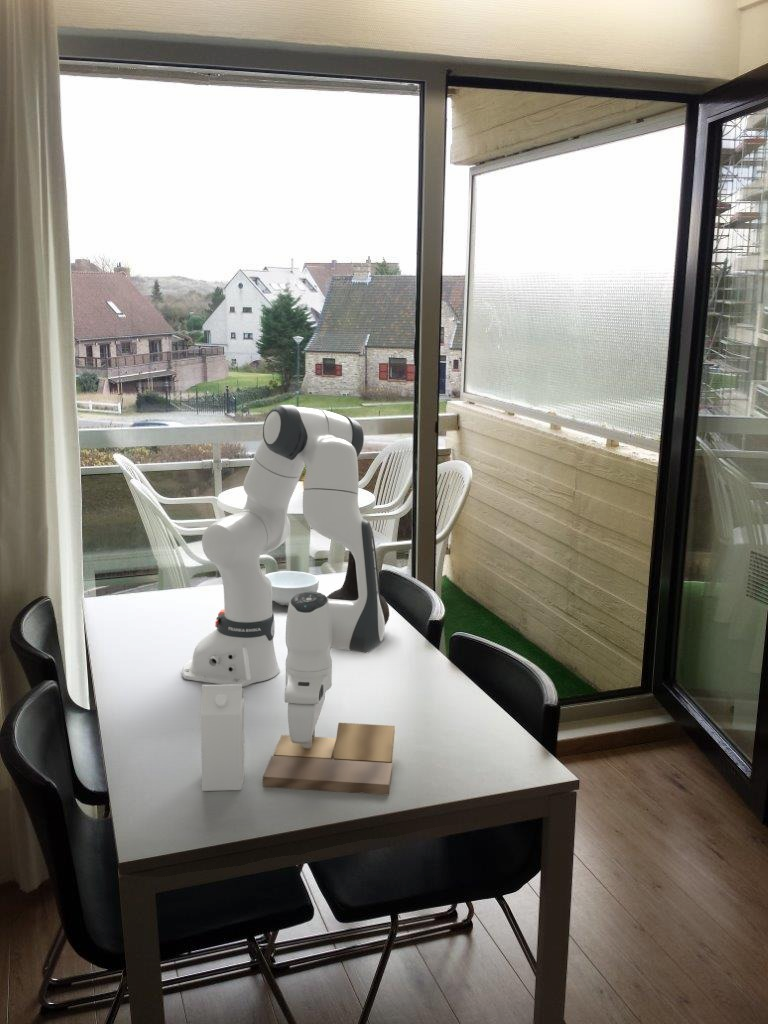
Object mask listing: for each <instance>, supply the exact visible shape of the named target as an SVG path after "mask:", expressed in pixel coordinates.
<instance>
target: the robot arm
mask: <svg viewBox="0 0 768 1024" xmlns="http://www.w3.org/2000/svg"><path fill="white" fill-rule="evenodd" d="M364 439H365V434H364V431H363V427H362V425H361V424H360V422H358V421H357V420H356V419H354V418H352V417H350V416H349V415H348V416H347V415H344V414H343V415H341V414H338V413H335V412H332V411H328V410H326V409H321V408H317V409H316V408H312V407H301V406H295V405H294V404H280V405H276V406H274V407H273V408H272V409H271V410H269V412H268V413H267V415H266V416H265V420H264V422H263V428H262V440H261V441H260V442H259V443H260V444H258V447H257V449H256V452H255V454H254V456H253V459H252V462H251V464H250V466H249V468H248V471H247V473H246V475H245V478H244V481H243V491H244V492H245V494H246V495H247V497H246V498H247V499H246V503H245V505H244V507H243V508H242V509H241V510H240V511H238V512H237V513H233V514H230V515H227V516H223V517H222V518H219V519H217V520H216V521H215V522H213V523H212V524H211V525H209V526H208V527H207V528H206V529H205V530H204V532H203V534H202V537H201V547H202V551H203V553H204V555H205V557H206V559H208V561H210V562H211V563H212V564H214V565H215V566H216V568H217V569H218V572H219V574H220V577H221V581H222V585H223V603H224V604H223V606H224V608H223V609H221V610H220V611H219V612H218V614H217V617H216V619H215V624H214V625H215V627H214V628H216V629H215V630H213V631H212V632H211V633H209V634H208V635H206V636H205V637H203V638H202V639H201V640H200V641H199V642H198V643H197V644H196V645H195V648H194V650H193V654H192V658H190V659H189V660H187V662H186V663H185V664H184V666H183V669H182V677H183V678H184V679H185V680H187V681H195V682H202V683H208V684H214V685H239V684H242V688H243V687H246V686H250V685H251V684H254V683H258V682H263V681H267V680H270V679H273V678H274V677H275V676H277V675H278V674H279V672H280V667H279V664H278V660H277V655H276V651H275V644H274V637H275V633H276V632H275V627H276V626H275V625H276V624H275V623H276V622H275V614H274V613H273V601H272V584H271V581H270V580H269V579H268V578H267V577H266V576H265V575H266V574H263V572H262V569H261V566H260V558H261V556H262V555H265V554H268V553H269V552H272V551H274V550H277V549H278V548H279V547H280V546H282V545H283V544H284V543H285V542H286V541H287V540H288V538H289V537H290V535H291V534H290V533H291V521H290V519H289V516H288V509H289V504H290V502H291V499H292V496H293V495H294V492H295V490H296V487H297V484H298V482H299V480H300V478H301V476H302V473H303V471H304V468H305V475H304V482H303V494H302V515H303V517H304V520H305V521H306V523H307V525H308V526H309V527H310V528H311V530H314V531H315V532H316V533H318V534H319V535H321V536H323V537H324V538H327V539H328V540H331V541H333V542H335V543H337V544H339V545H341V546H343V548H344V547H345V548H346V549H347V550H348V552H349V551H350V552H351V553H352V554H353V556H354V559H355V563H356V573H357V584H358V595H359V598H358V599H357V600H355V601H349V600H336V599H329V598H327V596H326V595H325V594H323V593H321V592H318V591H317V592H303V593H299V594H297V595H295V596H294V597H292V599H291V600H290V602H289V606H287V614H286V622H285V623H286V624H285V646H286V648H287V655H286V659H285V689H284V702H285V703H287V719H288V732H289V734H288V735H290V739H291V741H292V743H298V744H302V747H303V748H309V749H310V748H311V747H312V744H313V740H314V738H315V737H316V727H317V723H318V720H319V718H320V714H321V712H322V708H323V705H324V702H325V700H326V699H325V698H326V692H327V691H329V690H330V689H331V688H332V685H333V683H332V681H333V679H332V677H333V676H332V674H333V670H332V669H333V660H332V657H331V649H339V650H349V651H352V652H358V653H363V654H368V653H369V652H371V651H373V650H375V649H376V648H377V647H378V646H380V645H381V644H382V643H383V641H384V636H385V631H386V630H385V629H386V625H385V621H384V616H383V612H382V606H381V599H380V595H381V592H380V581H379V573H378V571H379V570H378V560H377V552H376V544H375V536H374V531H373V528H372V526H371V523H370V521H368V520H367V519H365V518H364V516H363V515H362V513H361V511H360V510H361V509H360V506H359V483H360V482H359V461H358V457H359V456H360V454H361V452H362V450H363V448H364V447H363V446H364V443H365V442H364V441H365V440H364Z"/></svg>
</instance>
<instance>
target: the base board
mask: <svg viewBox="0 0 768 1024" xmlns="http://www.w3.org/2000/svg"><path fill="white" fill-rule="evenodd" d="M392 776H393V762H392V763H381V762H365V761H349V760H334V759H317V758H301V757H285V756H274V755H271V756H270V759H269V761H268V764H267V766H266V768H265V770H264V773H263V774H262V787H264V788H277V789H279V788H280V789H281V788H282V789H292V790H293V789H295V790H310V791H325V792H326V791H328V792H338V793H339V792H341V793H342V792H343V793H355V794H356V793H357V794H369V795H384V794H389V795H390V788H391V783H392Z"/></svg>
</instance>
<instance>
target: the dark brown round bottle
mask: <svg viewBox="0 0 768 1024" xmlns="http://www.w3.org/2000/svg"><path fill="white" fill-rule="evenodd" d="M326 597H327V598H329V599H336V600H349V601H355V600H357V599H358V598H359V595H358V584H357V573H356V563H355V559H354V556H353V554H352V553H351V552H350V551H349V550H348V560H347V568H346V574H345V578H344V582H343V584H342V585H341V587H340V588H339V589H336V590H335V591H332V592H331V593H329V594H328V595H327V596H326ZM380 599H381V606H382V612H383V616H384V621H385V626H386V625H387V623H388V621H389V620H390V608H389V607H390V606H389V604H388V602H387V600H386V599H385V597H384V596H382V595H381V594H380Z"/></svg>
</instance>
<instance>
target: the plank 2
mask: <svg viewBox="0 0 768 1024" xmlns="http://www.w3.org/2000/svg"><path fill="white" fill-rule="evenodd" d="M395 729H396V728H395V725H383V724H368V723H367V724H366V723H353V722H352V723H351V722H350V723H349V722H338V724H337V730H336V732H337V733H336V737H335V738H336V744H335V751H334V758H333V760H349V761H365V762H381V763H392V764H393V757H394V755H393V754H394V744H395V734H396V733H395Z"/></svg>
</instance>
